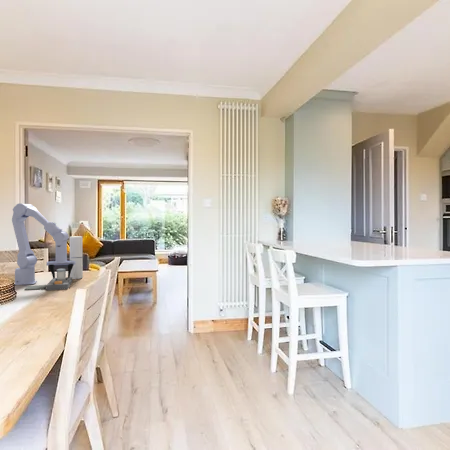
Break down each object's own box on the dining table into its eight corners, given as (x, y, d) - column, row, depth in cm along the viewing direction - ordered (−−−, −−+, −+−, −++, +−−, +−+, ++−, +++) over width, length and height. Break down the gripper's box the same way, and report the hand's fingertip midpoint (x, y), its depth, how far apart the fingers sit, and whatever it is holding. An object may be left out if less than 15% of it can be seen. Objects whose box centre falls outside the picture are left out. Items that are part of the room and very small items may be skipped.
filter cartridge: (56, 285, 196) (55, 270, 196) (57, 283, 201) (56, 268, 200) (65, 284, 198) (65, 269, 198) (66, 282, 203) (66, 268, 202)
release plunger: (54, 287, 186) (53, 282, 186) (55, 286, 189) (55, 280, 189) (61, 287, 187) (61, 281, 187) (62, 286, 190) (62, 280, 190)
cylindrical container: (78, 279, 214) (77, 237, 214) (67, 278, 216) (67, 236, 215) (85, 277, 221) (84, 236, 221) (74, 276, 223) (74, 236, 222)
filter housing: (46, 290, 183) (46, 285, 183) (53, 282, 204) (53, 277, 204) (67, 289, 186) (67, 284, 186) (72, 281, 207) (72, 277, 207)
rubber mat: (24, 290, 182) (24, 289, 182) (28, 286, 191) (28, 285, 191) (44, 289, 185) (44, 288, 185) (47, 286, 193) (47, 284, 193)
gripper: (45, 254, 193) (45, 279, 193) (74, 253, 197) (74, 278, 198) (47, 253, 200) (47, 277, 200) (75, 252, 204) (76, 276, 205)
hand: (61, 278), depth 199 cm, fingers open, 7 cm apart
